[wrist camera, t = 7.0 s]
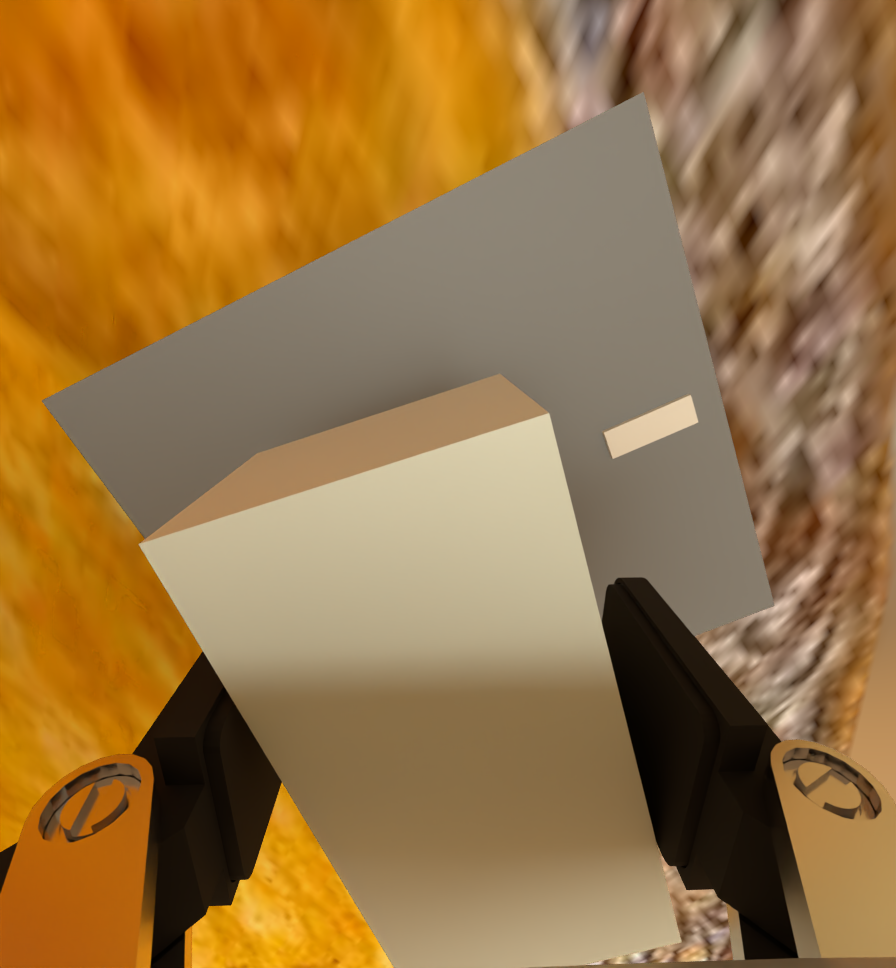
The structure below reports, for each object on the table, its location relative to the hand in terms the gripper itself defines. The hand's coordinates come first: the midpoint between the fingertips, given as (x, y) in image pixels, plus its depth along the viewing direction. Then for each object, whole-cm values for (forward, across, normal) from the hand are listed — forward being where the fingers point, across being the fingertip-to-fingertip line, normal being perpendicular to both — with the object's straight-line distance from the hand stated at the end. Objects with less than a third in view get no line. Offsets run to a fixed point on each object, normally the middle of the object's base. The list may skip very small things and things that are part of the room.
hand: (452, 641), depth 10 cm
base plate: (+8, 0, 0) cm, 8 cm away
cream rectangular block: (+4, 0, 0) cm, 4 cm away
